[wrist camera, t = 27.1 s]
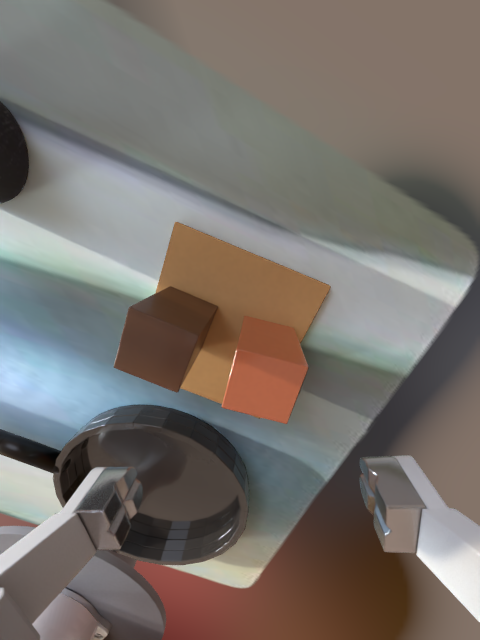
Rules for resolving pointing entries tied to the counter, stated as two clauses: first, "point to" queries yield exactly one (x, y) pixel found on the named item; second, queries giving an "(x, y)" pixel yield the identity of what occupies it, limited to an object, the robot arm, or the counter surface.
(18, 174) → the travel mug
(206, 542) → the pan
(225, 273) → the mat
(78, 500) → the robot arm
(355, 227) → the counter surface
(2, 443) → the pan handle
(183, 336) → the walnut block
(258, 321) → the terracotta block
